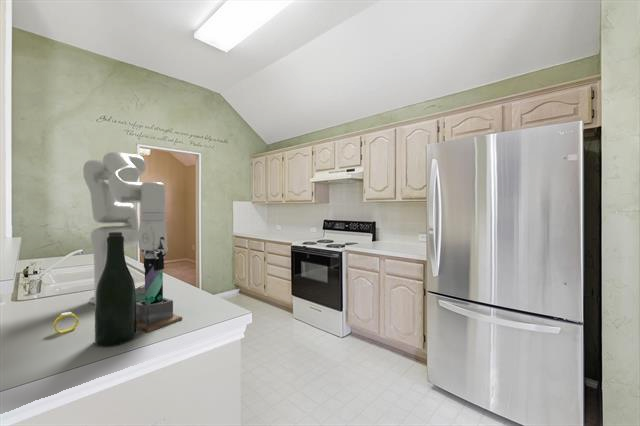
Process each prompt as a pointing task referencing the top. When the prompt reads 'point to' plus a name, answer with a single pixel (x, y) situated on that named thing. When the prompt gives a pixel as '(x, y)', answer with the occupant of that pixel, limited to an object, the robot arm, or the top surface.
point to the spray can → (153, 281)
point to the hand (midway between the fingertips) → (153, 268)
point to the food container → (140, 293)
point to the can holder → (155, 315)
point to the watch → (65, 316)
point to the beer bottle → (115, 297)
